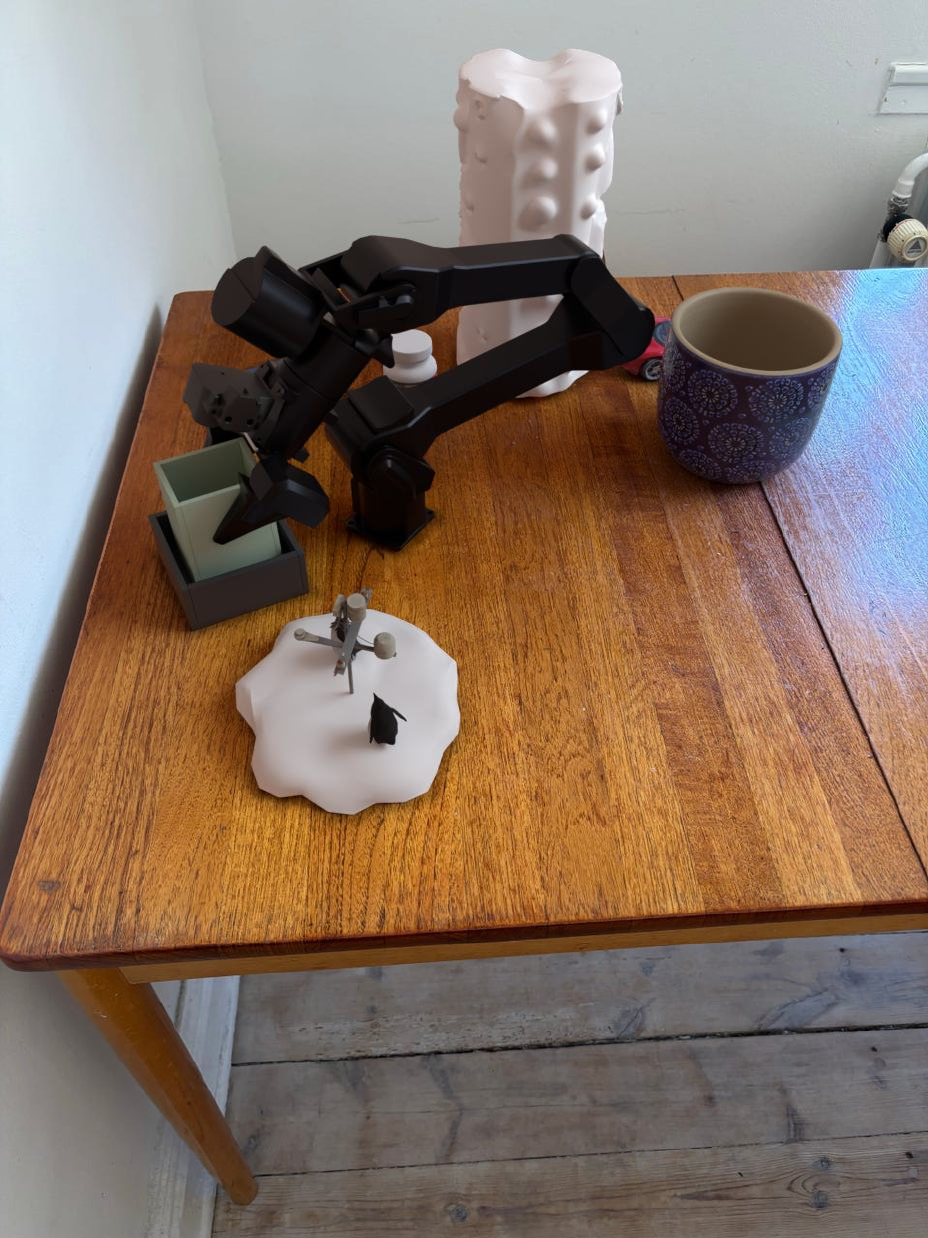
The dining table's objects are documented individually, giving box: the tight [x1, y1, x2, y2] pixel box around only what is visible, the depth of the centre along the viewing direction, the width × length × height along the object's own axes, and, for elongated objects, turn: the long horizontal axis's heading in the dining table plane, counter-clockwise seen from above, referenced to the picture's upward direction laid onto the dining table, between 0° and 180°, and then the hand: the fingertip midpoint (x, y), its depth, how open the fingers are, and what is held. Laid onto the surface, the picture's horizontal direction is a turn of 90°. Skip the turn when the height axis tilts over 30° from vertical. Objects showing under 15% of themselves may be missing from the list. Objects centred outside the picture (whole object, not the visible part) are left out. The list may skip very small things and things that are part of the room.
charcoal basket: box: [147, 509, 311, 632], centre depth 92 cm, size 11×11×5 cm
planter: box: [655, 286, 844, 485], centre depth 102 cm, size 16×16×15 cm
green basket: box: [152, 437, 282, 583], centre depth 89 cm, size 8×7×11 cm
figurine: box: [235, 586, 461, 816], centre depth 77 cm, size 20×18×16 cm
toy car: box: [619, 316, 671, 381], centre depth 118 cm, size 10×22×5 cm, turn 93°
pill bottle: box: [382, 329, 438, 387], centre depth 107 cm, size 6×6×10 cm
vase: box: [452, 47, 625, 399], centre depth 108 cm, size 17×16×32 cm
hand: (204, 518), depth 88 cm, fingers closed on green basket, 6 cm apart
